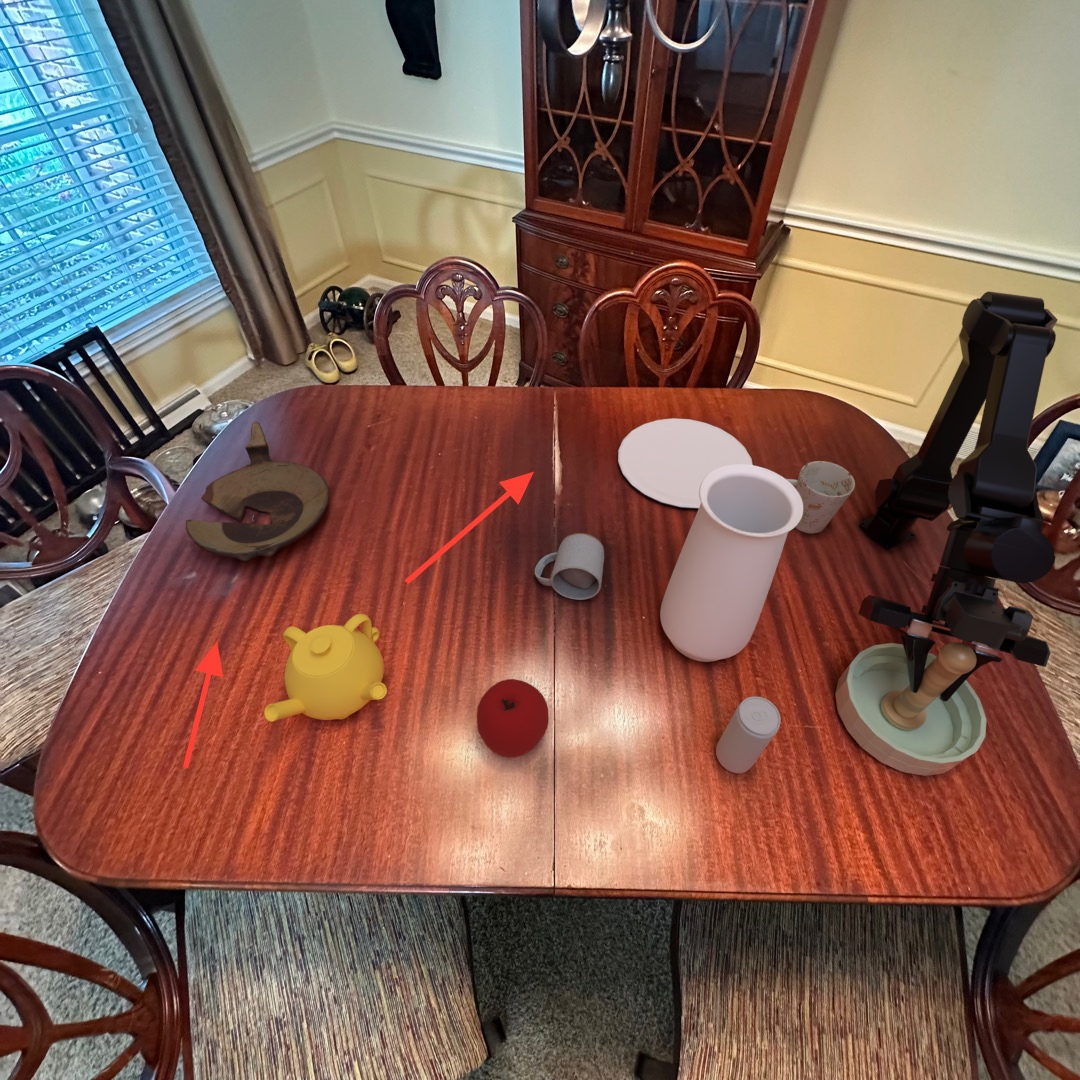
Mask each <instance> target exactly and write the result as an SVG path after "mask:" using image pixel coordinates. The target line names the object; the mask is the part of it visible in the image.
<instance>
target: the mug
mask: <svg viewBox="0 0 1080 1080" xmlns="http://www.w3.org/2000/svg"><path fill="white" fill-rule="evenodd" d="M785 479H786V480H787V481H789V482H790V483H791V484H792V485H793V486H794V487H795V489H796V490H797V491H798V493H799V495H800V497H801V499H802V502H803V515H802V518H801V520H800V522H799V523H798V524H797V525H796V526H795V527H794V528H795V529H796V530H798V531H800V532H802V533H806V534H818V533H821V532H822V531H823V530H825V528H826V527H827V526H828V524H829V523H830V522H831V521H832V519H833V518H834V517H835V515H836V514H837V513H838V511H839V510H840V509H841V507H843V505H844V504H845V502H846V501H847V500H848V499H849V497H850V496H851V495H852V493H853V492H854V490H855V487H856V482H855V479H854V476H853V475H852V474H851V473H850V471H848V470H847V469H846V468H844V467H842V466H841V465H839V464H838V463H837V464H836V463H834V462H830V461H826V460H824V461H823V460H816V461H811V462H808V463H806V464H804V465H803V466H802V468H801V469H800V471H799V474H798V478H797V479H794V478H793V479H792V478H785Z"/></svg>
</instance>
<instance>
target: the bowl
mask: <svg viewBox="0 0 1080 1080" xmlns="http://www.w3.org/2000/svg"><path fill="white" fill-rule="evenodd" d="M936 657H937V655H935V654H933V653H931V652H930V651H929V652H928V656H927V660H926V664H925V668H926V667H927V666H928V665H929V664H930V663H931V662H932V661H933V660H934V659H935V658H936ZM909 685H910V683H909V675H908V668H907V661H906V655H905V651H904V647H903V643H894V642H889V643H881V644H874V645H871V646H869V647H867V648H865V649H864V650H861V651H860V652H859V653H858V654H857V655H855V657H854V659H853V660H852V661H851V662H850V664H848V666H847V667H846V669H845V670H844V671H843V672H842V674H841V676H840V677H839V678H838V680H837V684H836V689H835V701H836V702H835V703H836V708H837V713H838V715H839V717H840V719H841V721H842V723H843V725H844V727H845V729H846V731H847V732H848V734H849V735H850V736H851V737H852V738H853V739H854V741H855V742H856V743H857V744H858V746H859V747H860V748H861V749H863V750H864V751H865V752H866V753H868V754H869V755H870V756H872V757H873V758H875V759H876V760H877V761H879V762H880V763H882V764H884V765H886V766H888V767H889V768H890V767H891V768H892V769H895V770H897V771H899V772H902V773H906V774H912V775H918V776H925V777H927V776H935V775H941V774H945V773H947V772H949V771H951V770H952V769H953V768H955V767H957V766H959V765H960V764H962V763H963V762H964V761H966V760H968V758H970V757H972V756H973V755H974V754H975V753H977V752H978V750H979V749H980V747H981V746H982V744H983V742H984V740H985V739H986V736H987V735H986V734H987V715H986V713H985V710H984V707H983V705H982V701H981V699H980V697H979V696H978V695H977V693H976V691H975V690H974V688H973V687H972V685H971V684H970V682H969V681H968V679H966V680H965V681H964V683H963V684H962V685H961V686H960V687H959V688H958V689H957V691H956V692H955V693H954V694H953V695H952V696H951V697H950V698H949V700H948V701H946V702H945V701H942V700H941V699H940V695H939V696H938V697H937V698H936V699H935V700H934V701H933V702H932V703H931V704H929V705H928V706H927V707H926V708H925V711H926V720H925V722H924V724H923V725H922V726H920V727H919V728H918V729H916V730H911V731H908V730H902V729H900V728H897V727H895V726H894V725H892V724H891V723H890V722H889V721H888V720H887V719H886V718H885V716H884V715H883V713H882V710H881V701H882V699H883V697H884V696H885V695H886V694H887V693H889V692H891V691H895V690H899V691H904V690H905V689H906V688H907V687H908V686H909Z"/></svg>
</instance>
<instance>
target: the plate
mask: <svg viewBox="0 0 1080 1080" xmlns="http://www.w3.org/2000/svg"><path fill="white" fill-rule="evenodd" d="M617 454H618V455H617V458H618V459H617V464H618V466H619V468H620V471H621V473H622V475H623V476H624V478H625V479H626V480H627V481H628V483H629V484H630V485H631V487H633V488H635V490H637V491H638V492H640V493H641V494H642V495H644V496H646V497H648V498H650V499H652V500H654V501H657V502H659V503H661V504H664V505H667V506H673V507H677V508H679V509H680V508H681V509H695V510H696V509H697V510H698V509H699V507H700V505H701V502H700V497H699V489H700V485H701V483H702V481H703V479H704V478H705V477H706V476H707V475H708V474H709V473H711V472H712V471H714V470H716V469H718V468H720V467H724V466H728V465H735V464H745V465H753V466H754V464H753V460H752V457H751V455H750V454H749V451H747V449H746V447H745V446H744V444H742V443H741V442H740V441H739V440H738V439H737V438H736V437H734V436H733V435H731V434H730V433H728V432H727V431H725V430H723V429H721V428H720V427H717V426H715V425H712V424H710V423H707V422H703V421H699V420H695V419H690V418H663V419H656V420H654V421H650V422H646V423H643V424H641V425H639V426H638V427H636V428H634V429H632V430H631V431H630V432H628V434H627V435H626V436H624V438H623V439H622V441H621V443H620V446H619V448H618V450H617Z"/></svg>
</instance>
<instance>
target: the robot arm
mask: <svg viewBox="0 0 1080 1080" xmlns="http://www.w3.org/2000/svg"><path fill="white" fill-rule="evenodd" d="M1057 322H1058V318H1057V317H1056V316H1055V315H1054V314H1053V313H1052V311H1050V309H1048V308H1045V301H1044V299H1043V298H1042V297H1034V296H1026V295H1020V294H1019V295H1018V294H1012V293H1004V292H996V291H985V292H984V293H983V294H982V295H981V296H980V298H979V297H977V298H974V299H972V300H971V301H970V303H968V305H967V307H966V309H965V311H964V313H963V316H962V319H961V326H962V327H961V330H960V332H959V334H958V340H959V344H960V350H961V356H962V359H961V361H960V363H959V365H958V367H957V369H956V372H955V374H954V376H953V378H952V380H951V382H950V384H949V386H948V388H947V391H946V393H945V395H944V397H943V399H942V401H941V403H940V405H939V407H938V409H937V411H936V413H935V416H934V417H933V420H932V422H931V424H930V426H929V428H928V430H927V433H926V435H925V436H924V438H923V440H922V443H921V445H920V446H919V449H918V451H917V453H916V454H914V455H912V456H911V457H910V458H908V459H907V460H905V461H904V462H902V463H900V464H899V465H898V466H897V468H896V470H895V471H894V474H893V475H892V477H891V478H884V479H879V480H878V482H877V486H876V487H875V489H874V500H875V501H874V502H875V510H876V512H875V513H874V515H873V516H871V517H869V518H866V519H864V520H861V521H859V523H858V526H859V527H860V529H862V530H863V531H864V532H865V533H866V534H867V535H868V536H870V537H871V538H872V539H873V540H874V541H876V543H878V544H879V545H880V546H881V547H882V548H883V549H884V550H886V551H890V550H892V549H895V548H896V547H899V546H901V545H903V544H905V543H908V542H910V541H912V540H914V539H915V538H916V534H915V533H914V532H912V531H911V530H912V528H913V526H914V525H915V524H916V522H917V521H918V519H921V520H927V521H929V522H934V520H936V519H937V518H938V517H940V516H941V515H942V514H944V513H945V512H946V511H947V510H948V509H949V508H950V505H951V508H952V510H953V513H954V515H955V518H956V519H955V520H953V521H951V522H950V523H948V525H947V526H946V531H948V532H949V533H948V536H947V540H946V543H945V547H944V549H943V553H942V555H941V559H940V562H939V566H938V569H937V572H936V573H934V572H933V573H932V575H931V579H930V582H933V585H932V588H931V591H930V595H929V598H928V601H927V604H922V607H921V610H920V612H917V611H913V610H911V606H909V605H906V604H905V603H902V602H899V601H896V600H891V599H888V598H884V597H880V596H876V595H872V594H869V595H867V596H866V597H864V598H863V599H862V600H861V603H860V607H859V610H858V612H857V613H858V614H857V615H859V616H861V617H863V618H865V619H866V620H868V621H869V622H873V623H877V624H880V625H884V626H888V627H891V628H892V629H891V630H892V631H893V632H894V633H897V634H899V635H900V639H901V644H902V645H903V647H904V651H905V655H906V661H907V668H908V675H909V683H910V690H911V691H912V692H913V693H917V692H918V689H919V687H920V684H921V681H922V677H923V673H924V669H925V664H926V660H927V656H928V652H929V653H930V651H931V649H932V648H933V647H934V645H935V644H936V641H935V640H933V639H931V638H930V637H931V633H932V632H933V633H937V634H940V635H944V636H948V637H952V638H954V639H955V638H956V639H958V640H960V641H962V642H961V643H963V644H966V645H967V646H969V647H970V648H971V649H972V650H973V651H974V653H975V655H976V665H975V667H974V668H973V669H972V670H971V671H970V672H968V673H965V674H962V675H961V676H960V677H959V678H958V679H957V680H956V681H955V682H953V683H952V684H951V685H950V686H949V687H948V688H947V689H946V690H945V691H944V692H943V693H941V694H940V699H941V700H942V701H945V702H946V701H948V700H949V698H950V697H951V696H952V695H953V694H954V693H955V692H956V691H957V689H958V688H959V687H960V686H961V685H962V684H963V683H964V681H965V680H968V679H969V677H970V676H971V675H972V674H973V673H975V672H976V671H977V670H978V669H980V668H981V667H983V666H985V665H987V664H989V663H992V662H994V663H998V664H999V663H1001V662H1002V661H1003V658H1001V657H999V656H998V654H999V652H1003V653H1006V654H1010V655H1012V656H1013V658H1014V659H1015V660H1016V661H1021V662H1025V663H1028V664H1032V665H1036V666H1039V667H1042V668H1043V667H1044V668H1045V667H1047V665H1048V662H1049V660H1050V655H1051V650H1050V647H1049V644H1048V642H1047V641H1046V640H1043V639H1040V638H1037V637H1034V636H1031V635H1029V632H1030V630H1031V626H1032V622H1033V618H1034V615H1033V614H1032V613H1031V611H1029V610H1028V609H1024V608H1020V607H1016V606H1012V605H1010V606H1008V607H1006V608H1005V607H1001V606H998V597H999V590H1000V588H996V587H995V585H996V581H997V580H1003V581H1007V582H1010V583H1011V582H1012V583H1017V584H1027V583H1028V584H1029V583H1033V582H1036V581H1038V580H1040V579H1042V578H1044V577H1045V576H1046V575H1048V573H1049V572H1050V571H1051V570H1052V568H1053V566H1054V564H1055V561H1056V556H1055V549H1054V546H1053V544H1052V542H1051V540H1050V539H1049V537H1047V535H1045V534H1044V533H1043V532H1042V531H1043V523H1044V521H1045V519H1044V516H1043V513H1042V511H1041V508H1040V503H1039V497H1038V492H1037V488H1036V482H1037V472H1038V468H1037V465H1036V463H1035V461H1034V459H1033V457H1032V455H1031V453H1030V451H1029V450H1028V447H1029V440H1030V434H1031V430H1032V424H1033V420H1034V415H1035V411H1036V405H1037V402H1038V397H1039V391H1040V387H1041V383H1042V377H1043V373H1044V368H1045V363H1046V359H1047V358H1048V356H1049V355H1050V353H1051V352H1052V350H1053V348H1054V347H1055V343H1056V339H1057V333H1056V332H1055V330H1054V327H1055V325H1056V324H1057ZM983 405H984V407H983ZM982 408H983V412H982V414H981V415H982V417H981V421H980V426H979V430H978V435H977V439H976V442H975V445H974V449H973V451H972V452H971V453H970V454H968V456H966V457H965V458H964V459H963V460H962V461H961V462H960V463H959V465H958V466H957V471H956V473H955V474H954V476H953V474H952V466H953V463H954V462H955V460H956V458H957V456H958V454H959V452H960V451H961V448H962V447H963V444H964V442H965V440H966V439H967V436H968V435H969V433H970V430H971V429H972V427H973V425H974V424H975V421H976V419H977V418H978V416H979V414H980V412H981V410H982ZM940 621H941V622H944V624H942V623H940Z"/></svg>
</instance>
